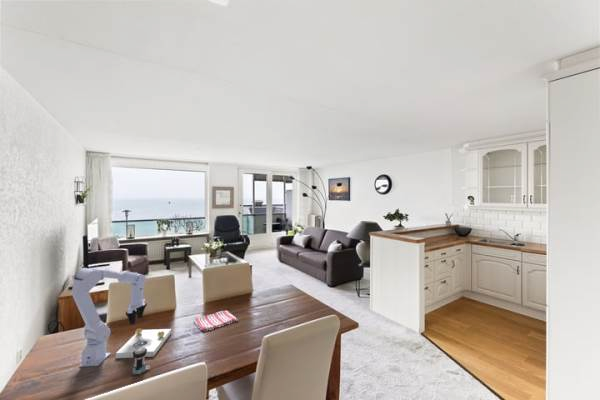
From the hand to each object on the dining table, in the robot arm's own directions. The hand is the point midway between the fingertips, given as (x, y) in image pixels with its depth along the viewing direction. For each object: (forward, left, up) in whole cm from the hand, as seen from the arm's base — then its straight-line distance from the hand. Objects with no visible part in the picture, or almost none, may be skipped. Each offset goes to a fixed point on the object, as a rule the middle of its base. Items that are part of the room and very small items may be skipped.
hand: (136, 320), depth 137 cm
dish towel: (+18, -39, -11) cm, 44 cm away
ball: (-10, -8, -8) cm, 15 cm away
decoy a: (0, -2, -6) cm, 6 cm away
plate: (-6, -8, -10) cm, 14 cm away
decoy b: (-4, -15, -6) cm, 16 cm away
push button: (-28, -16, -10) cm, 34 cm away
